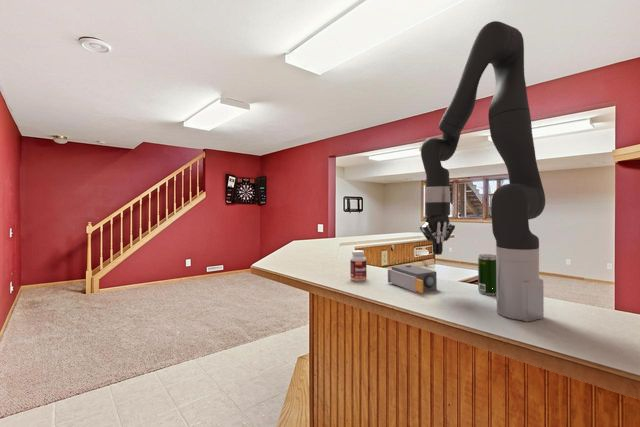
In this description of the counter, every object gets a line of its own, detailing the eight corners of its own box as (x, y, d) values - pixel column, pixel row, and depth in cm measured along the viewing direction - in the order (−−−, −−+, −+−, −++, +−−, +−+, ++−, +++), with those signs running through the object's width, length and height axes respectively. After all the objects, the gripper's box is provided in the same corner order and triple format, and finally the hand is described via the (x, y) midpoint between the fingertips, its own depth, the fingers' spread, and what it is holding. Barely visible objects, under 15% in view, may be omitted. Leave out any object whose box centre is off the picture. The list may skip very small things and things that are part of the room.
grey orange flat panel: (423, 293, 99) (423, 279, 99) (419, 294, 99) (419, 279, 99) (390, 281, 116) (390, 269, 116) (387, 282, 115) (387, 269, 115)
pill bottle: (355, 282, 118) (354, 252, 118) (347, 278, 124) (347, 250, 123) (369, 280, 120) (369, 251, 120) (361, 277, 126) (361, 249, 126)
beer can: (491, 296, 96) (491, 257, 96) (474, 292, 101) (474, 255, 100) (500, 293, 99) (500, 255, 99) (484, 289, 104) (483, 253, 103)
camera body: (437, 289, 105) (437, 270, 105) (418, 292, 102) (418, 272, 102) (409, 280, 118) (409, 263, 118) (391, 282, 115) (391, 265, 115)
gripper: (429, 201, 96) (429, 257, 97) (462, 200, 101) (462, 254, 101) (413, 201, 103) (413, 254, 103) (444, 200, 108) (444, 251, 108)
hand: (437, 254), depth 102 cm, fingers closed
